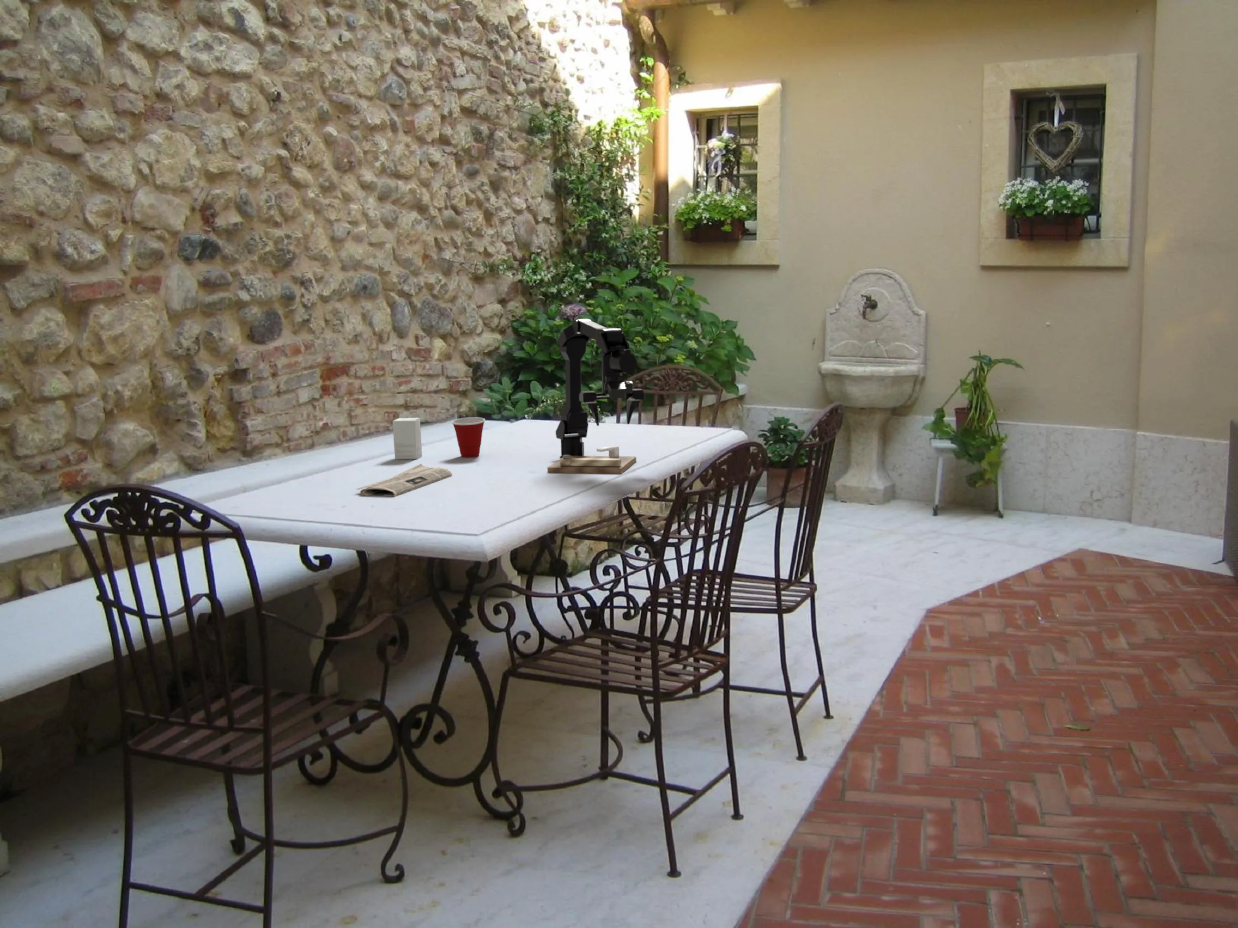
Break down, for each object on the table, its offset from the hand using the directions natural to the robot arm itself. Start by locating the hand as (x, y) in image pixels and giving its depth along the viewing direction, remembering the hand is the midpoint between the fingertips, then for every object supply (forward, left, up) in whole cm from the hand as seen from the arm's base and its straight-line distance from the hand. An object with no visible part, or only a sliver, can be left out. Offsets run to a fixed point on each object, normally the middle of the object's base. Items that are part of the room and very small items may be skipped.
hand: (613, 424), depth 347 cm
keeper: (-4, +10, -12) cm, 16 cm away
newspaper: (-53, -31, -14) cm, 63 cm away
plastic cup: (-52, +22, -13) cm, 58 cm away
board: (-7, +4, -13) cm, 16 cm away
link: (-6, -4, -11) cm, 14 cm away
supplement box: (-71, +17, -13) cm, 74 cm away
